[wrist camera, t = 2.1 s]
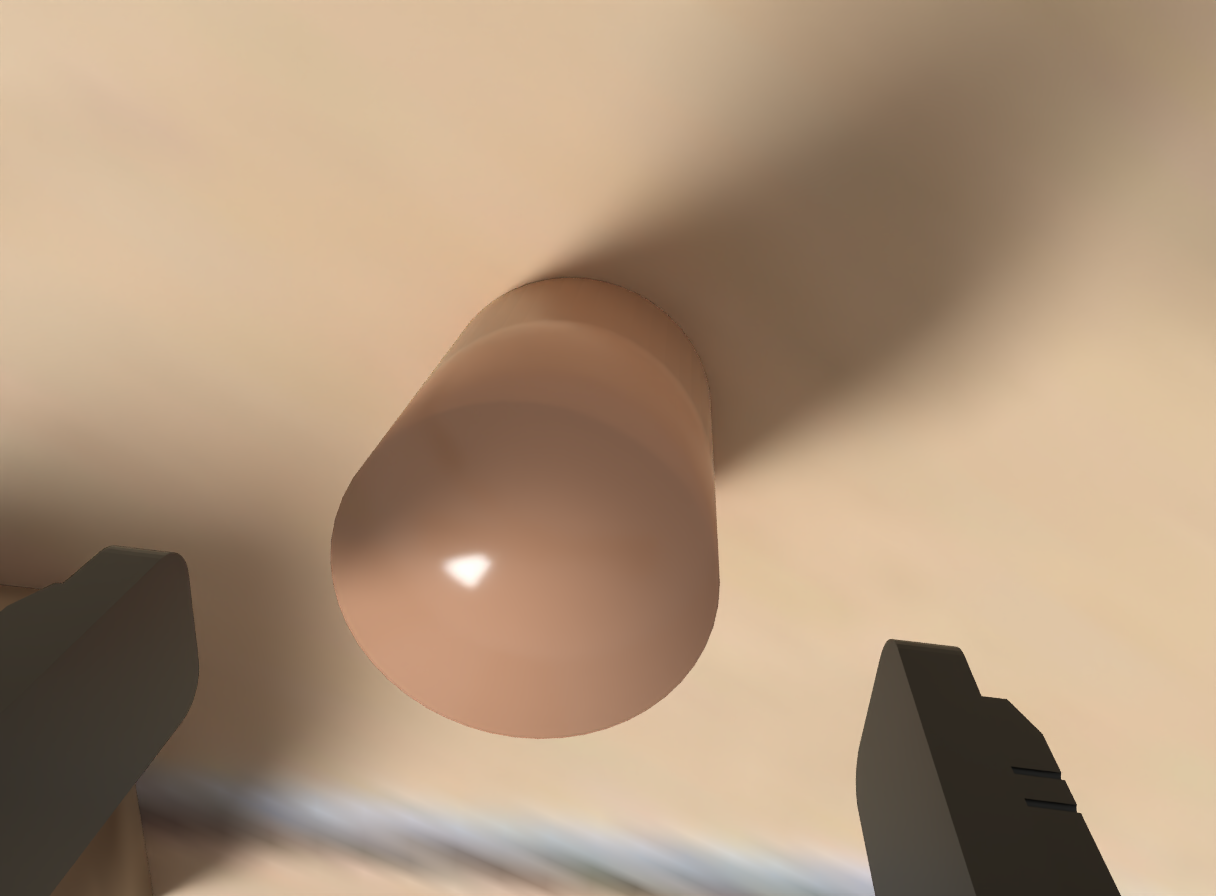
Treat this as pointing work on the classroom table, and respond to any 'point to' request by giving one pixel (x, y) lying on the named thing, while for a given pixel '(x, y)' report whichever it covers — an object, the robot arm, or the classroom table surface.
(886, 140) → the classroom table surface
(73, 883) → the bottom block
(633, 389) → the terracotta cylinder
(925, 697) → the robot arm
